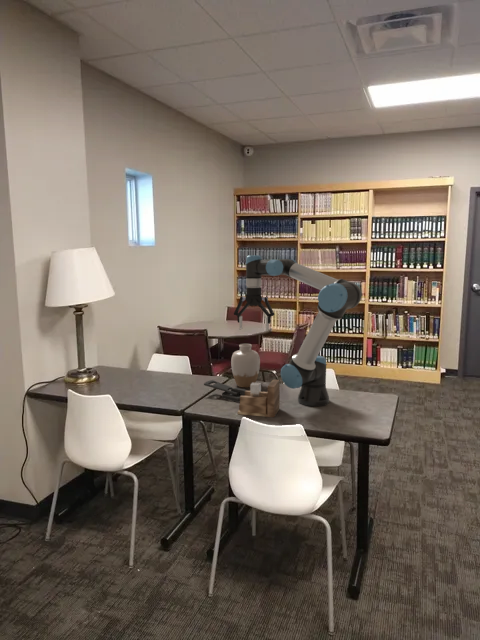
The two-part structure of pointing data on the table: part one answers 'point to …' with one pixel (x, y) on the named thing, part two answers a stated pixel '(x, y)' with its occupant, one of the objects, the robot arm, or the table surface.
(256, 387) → the white tall block
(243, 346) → the vase
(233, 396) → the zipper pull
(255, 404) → the wooden box
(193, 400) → the table surface
